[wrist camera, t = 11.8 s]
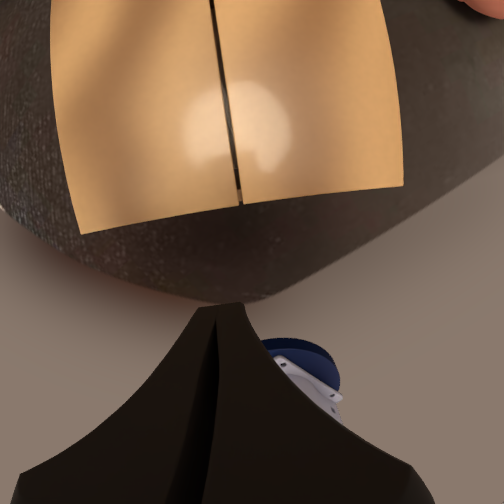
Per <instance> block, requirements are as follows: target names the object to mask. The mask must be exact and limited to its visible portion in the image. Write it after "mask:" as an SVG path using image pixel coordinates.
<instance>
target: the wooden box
mask: <svg viewBox="0 0 504 504" xmlns="http://www.w3.org/2000/svg"><path fill="white" fill-rule="evenodd" d="M50 52H51V74H52V88H53V98H54V107H55V115H56V123H57V130H58V136H59V142H60V148H61V154H62V159H63V164H64V169H65V174H66V178H67V183H68V187H69V191H70V195H71V199H72V203H73V207H74V211H75V215H76V218H77V222H78V225H79V229H80V232H81V234H86V233H91V232H96V231H100V230H105V229H110V228H115V227H120V226H125V225H130V224H135V223H140V222H145V221H150V220H156V219H161V218H167V217H172V216H178V215H184V214H189V213H195V212H201V211H207V210H213V209H220V208H226V207H232V206H238V205H239V201H243V198H242V191H241V185H240V178H239V171H238V164H237V157H236V151H235V144H234V137H233V130H232V123H231V117H230V110H229V103H228V96H227V89H226V82H225V75H224V69H223V62H222V55H221V48H220V41H219V34H218V27H217V20H216V14H215V7H214V0H52V1H51V21H50Z"/></svg>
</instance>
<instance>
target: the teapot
mask: <svg viewBox="0 0 504 504" xmlns="http://www.w3.org/2000/svg"><path fill="white" fill-rule="evenodd" d="M458 1H461V2H465V3H466V4H467V5H468V6H470V7H471V8H472V9H474V10H476V11H478V12H480V13H482V14H484V15H487V16H490V17H493V18H497V19H504V0H458Z"/></svg>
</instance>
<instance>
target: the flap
mask: <svg viewBox="0 0 504 504" xmlns="http://www.w3.org/2000/svg"><path fill="white" fill-rule="evenodd" d="M214 7H215V14H216V20H217V27H218V34H219V41H220V48H221V55H222V62H223V69H224V75H225V82H226V89H227V96H228V103H229V110H230V117H231V123H232V130H233V137H234V144H235V151H236V157H237V164H238V171H239V178H240V185H241V191H242V198H243V204H250V203H257V202H264V201H271V200H278V199H286V198H294V197H302V196H310V195H318V194H327V193H336V192H345V191H355V190H365V189H375V188H387V187H398V186H403V150H402V133H401V120H400V110H399V100H398V92H397V84H396V77H395V70H394V64H393V58H392V52H391V47H390V42H389V37H388V32H387V28H386V23H385V19H384V15H383V11H382V7H381V3H380V0H214Z"/></svg>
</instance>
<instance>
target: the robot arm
mask: <svg viewBox="0 0 504 504" xmlns="http://www.w3.org/2000/svg"><path fill="white" fill-rule="evenodd" d="M282 363H285V364H282ZM342 398H343V396H342V394H341V393H339V392H338V391H336V390H334V389H333V388H331V387H330V386H328V385H327V384H325V383H323V382H322V381H320V380H319V379H317V378H316V377H314V376H313V375H311V374H309V373H308V372H306V371H305V370H303V369H302V368H300V367H299V366H297V365H296V364H294V363H293V362H291V361H290V360H288V359H287V358H285V357H284V356H282V355H277V356H275V357H274V358H272V356H271V355H270V354H269V352H268V351H267V350H266V348H265V347H264V345H263V344H262V342H261V341H260V339H259V337H258V336H257V334H256V333H255V331H254V329H253V327H252V326H251V323H250V321H249V319H248V317H247V314H246V311H245V306H244V304H242V303H241V302H236V303H229V304H221V305H214V306H207V307H199V308H198V309H197V310H196V312H195V313H194V315H193V316H192V318H191V319H190V321H189V323H188V324H187V326H186V327H185V329H184V330H183V332H182V333H181V335H180V336H179V338H178V339H177V341H176V342H175V344H174V345H173V346H172V348H171V349H170V351H169V352H168V353H167V355H166V356H165V357H164V359H163V360H162V361H161V363H160V364H159V365H158V366H157V368H156V369H155V370H154V371H153V373H152V374H151V376H149V378H148V379H147V380H146V381H145V382H144V384H143V385H142V386H141V387H140V388H139V389H138V390H137V391H136V392H135V393H134V394H133V395H132V396H131V397H130V398H129V399H128V400H127V401H126V402H125V403H124V404H123V405H122V406H121V407H120V408H119V409H118V410H117V411H115V412H114V413H113V414H112V415H111V416H110V417H108V418H107V419H106V420H105V421H104V422H103V423H101V424H100V425H99V426H98V427H97V428H96V429H94V430H93V431H92V432H90V433H89V434H88V435H86V436H85V437H83V438H82V439H81V440H79V441H78V442H76V443H75V444H73V445H72V446H71V447H69V448H67V449H66V450H64V451H63V452H61V453H59V454H58V455H56V456H54V457H53V458H51V459H49V460H47V461H45V462H43V463H41V464H39V465H37V466H35V467H34V468H32V469H30V470H28V471H26V472H23V473H21V474H20V476H19V479H18V481H17V484H16V487H15V490H14V493H13V497H12V500H11V503H10V504H435V502H434V500H433V497H432V495H431V493H430V492H429V490H428V488H427V487H426V485H425V484H424V482H423V481H422V479H421V478H420V476H419V475H418V474H417V472H416V471H415V470H414V469H413V467H412V466H411V465H409V464H407V463H405V462H403V461H401V460H399V459H397V458H395V457H394V456H391V455H390V454H388V453H386V452H384V451H382V450H381V449H379V448H377V447H375V446H374V445H372V444H370V443H369V442H367V441H365V440H364V439H362V438H361V437H359V436H358V435H356V434H355V433H353V432H352V431H350V430H349V429H347V428H346V427H345V426H343V423H342V420H341V417H340V414H339V412H338V409H337V406H336V403H338V402H339V401H341V400H342ZM502 504H504V502H503V503H502Z"/></svg>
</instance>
